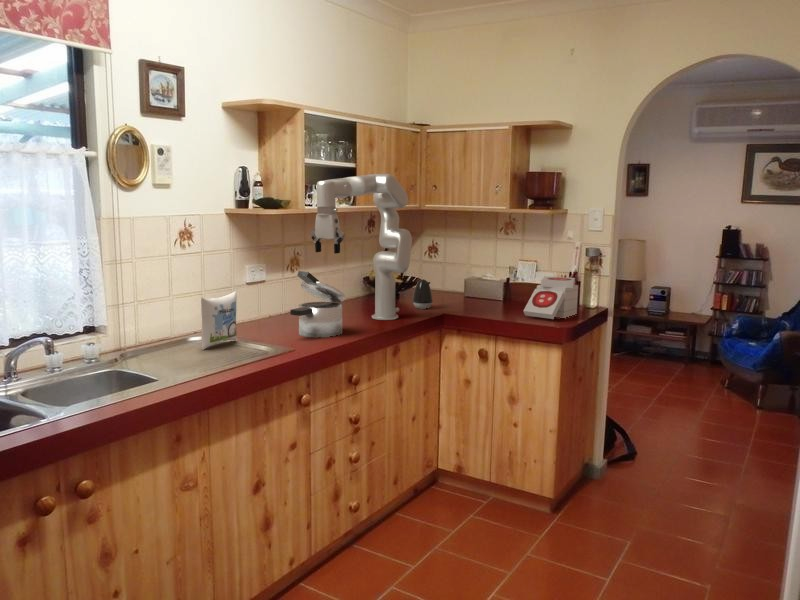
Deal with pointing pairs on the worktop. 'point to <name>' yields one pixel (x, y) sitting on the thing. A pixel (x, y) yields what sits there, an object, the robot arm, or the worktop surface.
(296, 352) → the worktop surface
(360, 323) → the worktop surface
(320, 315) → the cooker pot
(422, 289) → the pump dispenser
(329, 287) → the cooker lid
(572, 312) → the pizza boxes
